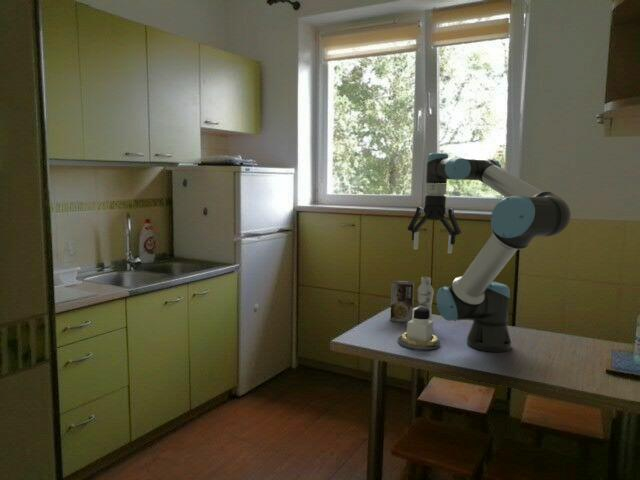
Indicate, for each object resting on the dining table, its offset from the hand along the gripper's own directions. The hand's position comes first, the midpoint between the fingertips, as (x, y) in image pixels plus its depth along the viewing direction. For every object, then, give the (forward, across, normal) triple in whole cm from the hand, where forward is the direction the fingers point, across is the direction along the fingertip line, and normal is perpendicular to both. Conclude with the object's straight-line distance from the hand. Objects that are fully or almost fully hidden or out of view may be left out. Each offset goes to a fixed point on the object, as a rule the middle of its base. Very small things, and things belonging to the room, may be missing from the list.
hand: (432, 251), depth 186 cm
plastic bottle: (+32, -4, +5) cm, 32 cm away
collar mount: (+32, +3, -15) cm, 35 cm away
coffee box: (+32, -15, +8) cm, 36 cm away
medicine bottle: (+31, +3, -15) cm, 34 cm away
